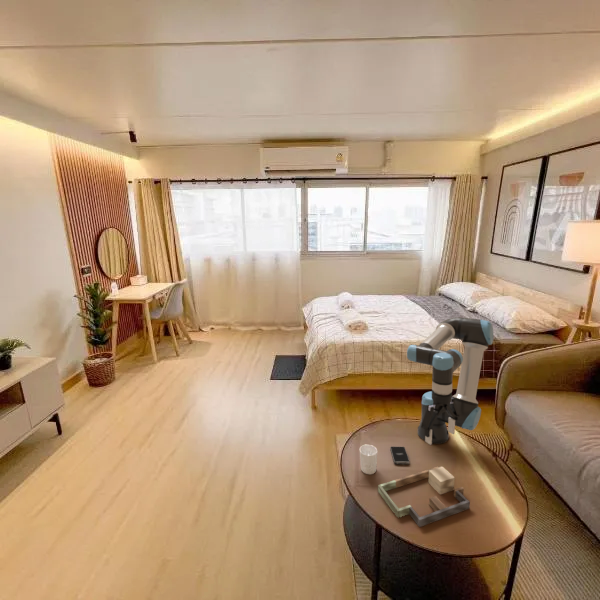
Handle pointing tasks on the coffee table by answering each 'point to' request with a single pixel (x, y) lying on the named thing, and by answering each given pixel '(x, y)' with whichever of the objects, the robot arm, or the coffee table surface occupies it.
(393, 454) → the external hard drive
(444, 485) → the block
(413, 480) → the channel
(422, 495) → the coffee table surface
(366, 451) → the white cup
